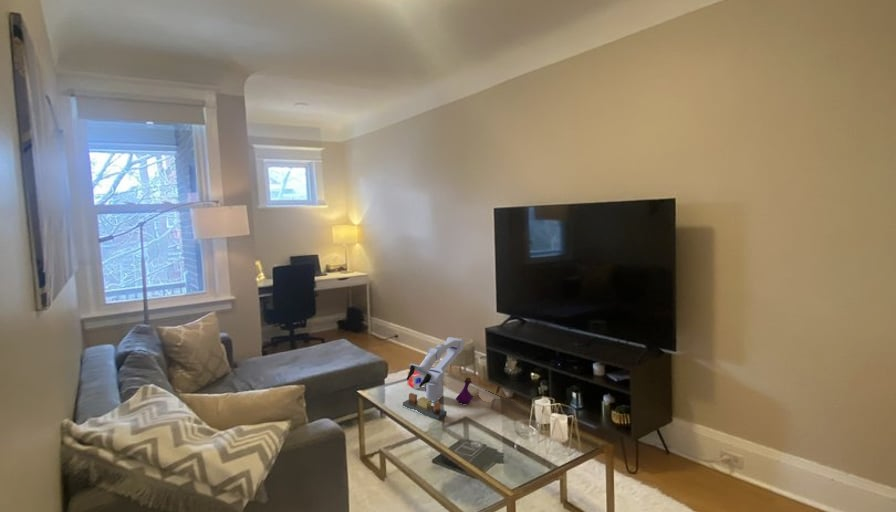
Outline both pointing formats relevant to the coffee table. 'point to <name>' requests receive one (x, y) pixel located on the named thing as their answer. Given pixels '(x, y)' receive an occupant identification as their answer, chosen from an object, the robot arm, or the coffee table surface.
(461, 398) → the perfume bottle
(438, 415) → the hand plane
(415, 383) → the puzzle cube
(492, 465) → the coffee table surface
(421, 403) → the lever cap
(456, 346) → the robot arm
